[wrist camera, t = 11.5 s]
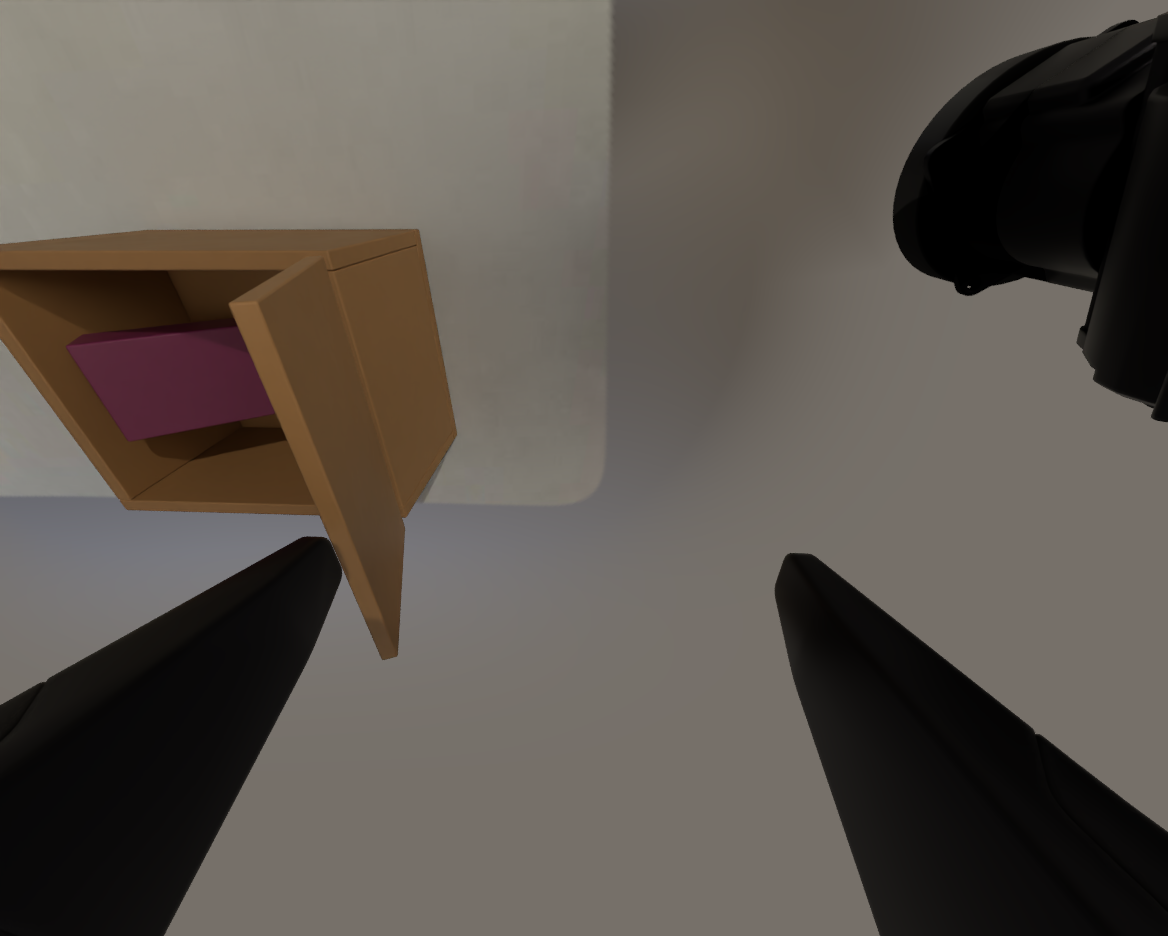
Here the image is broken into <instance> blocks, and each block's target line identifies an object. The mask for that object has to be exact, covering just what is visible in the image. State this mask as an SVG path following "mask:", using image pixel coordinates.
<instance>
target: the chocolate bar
mask: <svg viewBox="0 0 1168 936" xmlns="http://www.w3.org/2000/svg"><path fill="white" fill-rule="evenodd" d="M66 349H67V350H68V352H69V353H70V355H71V356H72V358H73V359H74V361H75V362H76V364H77V365H78V367H79V368H80V370H81V371H82V373H83V374H84V376H85V377H86V379H87V380H88V382H89V383H90V385H91V386H92V388H93V389H94V391H95V392H96V394H97V396H98V397H99V399H100V400H101V402H102V403H103V405H104V406H105V408H106V409H107V411H108V412H109V414H110V415H111V417H112V418H113V420H114V421H115V423H116V424H117V426H118V427H119V429H120V430H121V432H122V433H123V435H124V436H125V438H126V439H127V441H129V442H131V441H137V440H142V439H147V438H152V437H158V436H163V435H168V434H173V433H178V432H184V431H189V430H194V429H199V428H205V427H210V426H215V425H220V424H226V423H231V422H236V421H241V420H247V419H252V418H257V417H262V416H268V415H273V414H275V411H274V409H273V407H272V404H271V402H270V400H269V397H268V395H267V393H266V390H265V388H264V386H263V384H262V381H261V379H260V377H259V374H258V372H257V370H256V367H255V365H254V363H253V360H252V358H251V356H250V353H249V351H248V349H247V347H246V344H245V342H244V340H243V337H242V335H241V333H240V330H239V328H238V326H237V323H236V321H235V319H234V318H228V319H219V320H210V321H201V322H192V323H183V324H173V325H164V326H155V327H146V328H137V329H128V330H119V331H109V332H100V333H91V334H83V335H81V336H79V337H78V338H76V339H75V340H74V341H72V342H71V343H69V344H68V345H66Z"/></svg>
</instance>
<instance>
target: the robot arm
mask: <svg viewBox="0 0 1168 936" xmlns="http://www.w3.org/2000/svg"><path fill="white" fill-rule="evenodd" d="M941 152H942V153H943V160H942V162H941V164H940V165H939V166H936V165H935V160H936V158H937V156H938V155H939V154H940V153H941ZM922 170H923V174H924V177H925V181H926V185H927V188H928V192H929V195H930V199H931V203H932V206H933V210H934V214H935V217H936V221H937V224H938V228H939V232H940V235H941V239H942V242H943V246H944V250H945V253H946V257H947V261H948V264H949V268H950V271H951V275H952V279H953V282H954V286H955V289H956V291H957V292H958V293H960V294H962V295H965V296H973V295H975V294H978V293H979V292H981V291H983V290H985V289H987V288H989V287H990V286H992V285H994V284H996V283H998V282H1000V281H1001V280H1003V279H1005V278H1007V277H1009V276H1011V275H1012V274H1013V275H1017V276H1022V277H1026V278H1031V279H1035V280H1040V281H1045V282H1049V283H1054V284H1058V285H1063V286H1068V287H1072V288H1076V289H1081V290H1085V291H1090V292H1093V296H1092V300H1091V304H1090V308H1089V312H1088V315H1087V319H1086V323H1085V325H1084V326H1082V327H1081V328H1080V331H1079V334H1078V338H1077V344H1078V345H1079V346H1080V347H1081V348H1082V349H1083V351H1082V352H1083V354H1084V356H1085V358H1086V359H1087V361H1088V362H1089V364H1090V366H1091V367H1093V368H1094V369H1095V374H1094V377H1093V380H1094V381H1095V382H1096V383H1098V384H1100V385H1101V386H1103V387H1105V388H1107V389H1109V390H1111V391H1113V392H1115V393H1117V394H1119V395H1121V396H1123V397H1126V398H1129V399H1132V400H1135V401H1139V402H1142V403H1144V404H1145V405H1147V406H1149V407H1151V408H1154V410H1153V412H1152V415H1151V418H1153V419H1154V420H1157V421H1163V422H1168V12H1166V13H1164V14H1161V15H1159V16H1158V17H1157V18H1154V19H1151V20H1148V21H1145V22H1141V23H1139V22H1138V21H1136V20H1127V21H1124V22H1121V23H1117V24H1115V25H1113V26H1111V27H1109V28H1108V29H1106V30H1105V31H1103V32H1102V33H1100V34H1099V35H1097V36H1095V37H1092V38H1089V39H1086V40H1082V41H1079V42H1076V43H1073V44H1070V45H1068V46H1066V47H1064V48H1063V49H1061V50H1060V51H1059V52H1057V53H1056V54H1054V55H1053V56H1051V57H1050V58H1048V59H1047V60H1045V61H1044V62H1042V63H1041V64H1040V65H1038V66H1037V67H1035V68H1034V69H1032V70H1031V71H1029V72H1028V73H1026V74H1025V75H1023V76H1022V77H1021V78H1019V79H1018V80H1016V81H1015V82H1013V83H1012V84H1010V85H1009V86H1007V87H1006V88H1004V89H1003V90H1002V91H1000V92H999V93H997V94H996V95H994V96H993V97H991V98H990V99H989V100H988V102H987V103H986V105H985V106H984V108H983V113H982V114H981V115H979V116H978V117H976V118H975V119H973V120H972V121H970V122H969V123H967V124H966V125H964V126H963V127H961V128H960V129H958V130H957V131H955V132H954V133H953V134H951V135H950V136H948V137H947V138H945V139H944V140H942V141H941V142H939V143H938V144H936V145H935V146H933V147H932V148H931V149H930V150H929V151H928V152H927V153H926V155H925V156H924V158H923V162H922ZM974 278H975V281H974V283H973V285H972V286H971V287H969V288H968V284H969V282H970V281H971V280H972V279H974ZM341 577H342V568H341V565H340V563H339V561H338V558H337V556H336V554H335V551H334V549H333V547H332V544H331V542H330V541H329V540H327V538H324V537H308V536H307V537H302V538H300V539H298V540H296V541H294V542H293V543H291V544H289V545H287V546H285V547H283V548H282V549H280V550H278V551H276V552H274V553H273V554H271V555H269V556H267V557H265V558H264V559H262V560H260V561H258V562H256V563H255V564H253V565H251V566H250V567H248V568H246V569H244V570H242V571H240V572H238V573H237V574H235V575H233V576H231V577H229V578H228V579H226V580H224V581H222V582H220V583H219V584H217V585H215V586H214V587H212V588H210V589H208V590H206V591H204V592H203V593H201V594H199V595H197V596H195V597H194V598H192V599H190V600H188V601H186V602H185V603H183V604H181V605H179V606H177V607H176V608H174V609H172V610H170V611H168V612H167V613H165V614H163V615H161V616H159V617H158V618H156V619H154V620H152V621H150V622H149V623H147V624H145V625H143V626H141V627H140V628H138V629H136V630H134V631H133V632H131V633H129V634H127V635H125V636H124V637H122V638H120V639H118V640H116V641H115V642H113V643H111V644H109V645H108V646H106V647H104V648H102V649H100V650H98V651H97V652H95V653H93V654H91V655H89V656H88V657H86V658H84V659H82V660H80V661H79V662H77V663H75V664H73V665H72V666H70V667H68V668H66V669H64V670H63V671H61V672H59V673H57V674H55V675H54V676H52V677H50V678H49V679H48V680H47V681H46V682H42V683H39V684H37V685H35V686H33V687H32V688H30V689H28V690H26V691H25V692H23V693H21V694H19V695H18V696H16V697H14V698H13V699H10V700H9V701H7V702H5V703H3V704H1V705H0V936H164V934H165V933H166V930H167V929H168V927H169V925H170V923H171V921H172V919H173V917H174V915H175V913H176V911H177V910H178V908H179V906H180V904H181V902H182V900H183V898H184V896H185V894H186V892H187V891H188V889H189V887H190V885H191V883H192V881H193V879H194V877H195V875H196V873H197V871H198V870H199V868H200V866H201V864H202V862H203V860H204V858H205V856H206V854H207V852H208V851H209V849H210V847H211V845H212V843H213V841H214V839H215V837H216V835H217V833H218V831H219V829H220V828H221V826H222V823H223V822H224V820H225V818H226V816H227V814H228V812H229V810H230V808H231V807H232V805H233V803H234V801H235V799H236V797H237V795H238V793H239V791H240V789H241V788H242V785H243V784H244V782H245V780H246V778H247V776H248V774H249V772H250V770H251V768H252V766H253V765H254V763H255V761H256V759H257V757H258V755H259V753H260V751H261V749H262V747H263V746H264V744H265V742H266V740H267V738H268V736H269V734H270V732H271V730H272V728H273V726H274V725H275V723H276V721H277V719H278V716H279V715H280V713H281V711H282V709H283V707H284V705H285V704H286V702H287V700H288V698H289V696H290V694H291V692H292V690H293V688H294V686H295V684H296V683H297V681H298V679H299V677H300V675H301V673H302V671H303V669H304V667H305V665H306V663H307V661H308V659H309V657H310V655H311V653H312V650H313V648H314V646H315V643H316V641H317V638H318V636H319V634H320V631H321V628H322V626H323V624H324V621H325V619H326V616H327V614H328V611H329V609H330V606H331V604H332V601H333V599H334V596H335V594H336V591H337V589H338V586H339V584H340V581H341ZM775 599H776V603H777V608H778V612H779V617H780V621H781V626H782V630H783V635H784V640H785V644H786V648H787V653H788V658H789V662H790V667H791V671H792V675H793V679H794V682H795V685H796V689H797V692H798V695H799V698H800V701H801V704H802V707H803V710H804V712H805V715H806V719H807V721H808V724H809V727H810V730H811V733H812V736H813V739H814V742H815V745H816V748H817V751H818V754H819V757H820V760H821V763H822V766H823V769H824V772H825V775H826V778H827V780H828V784H829V786H830V789H831V792H832V795H833V798H834V801H835V804H836V807H837V810H838V813H839V816H840V819H841V822H842V825H843V827H844V831H845V833H846V837H847V840H848V843H849V846H850V848H851V852H852V854H853V857H854V860H855V863H856V866H857V869H858V872H859V875H860V878H861V881H862V884H863V887H864V890H865V893H866V896H867V899H868V902H869V905H870V908H871V910H872V914H873V917H874V919H875V922H876V925H877V928H878V931H879V934H880V936H1168V832H1167V831H1166V830H1165V829H1163V828H1162V827H1160V826H1159V825H1158V824H1156V823H1155V822H1154V821H1152V820H1151V819H1150V818H1148V817H1147V816H1145V815H1144V814H1143V813H1141V812H1140V811H1139V810H1137V809H1136V808H1134V807H1133V806H1132V805H1130V804H1129V803H1128V802H1127V801H1125V800H1124V799H1123V798H1121V797H1120V796H1119V795H1118V794H1116V793H1115V792H1114V791H1112V790H1111V789H1110V788H1108V787H1107V786H1106V785H1105V784H1103V783H1102V782H1101V781H1099V780H1098V779H1097V778H1095V777H1094V776H1093V775H1092V774H1090V773H1089V772H1088V771H1086V770H1085V769H1084V768H1083V767H1081V766H1080V765H1079V764H1077V763H1076V762H1075V761H1073V760H1072V759H1071V758H1070V757H1068V756H1067V755H1066V754H1065V753H1063V752H1062V751H1061V750H1060V749H1058V748H1057V747H1056V746H1054V745H1053V744H1052V743H1051V742H1049V741H1048V740H1047V739H1046V738H1044V737H1043V736H1042V735H1040V734H1035V732H1034V730H1033V728H1031V727H1030V726H1029V725H1028V724H1026V723H1025V722H1023V720H1021V719H1020V718H1019V717H1018V716H1016V715H1015V714H1014V713H1012V712H1011V711H1010V710H1009V709H1007V708H1006V707H1005V706H1004V705H1002V704H1001V703H1000V702H999V701H997V700H996V699H995V698H993V697H992V696H991V695H990V694H988V693H987V692H986V691H985V690H983V689H982V688H981V687H979V686H978V685H977V684H976V683H975V682H973V681H972V680H971V679H969V678H968V677H967V676H966V675H964V674H963V673H962V672H961V671H959V670H958V669H957V668H956V667H954V666H953V665H952V664H950V663H949V662H948V661H947V660H946V659H944V658H943V657H942V656H940V655H939V654H938V653H937V652H935V651H934V650H933V649H932V648H930V647H929V646H928V645H927V644H925V643H924V642H923V641H921V640H920V639H919V638H918V637H916V636H915V635H914V634H913V633H911V632H910V631H909V630H907V629H906V628H905V627H904V626H903V625H901V624H900V623H899V622H897V621H896V620H895V619H894V618H892V617H891V616H890V615H889V614H887V613H886V612H885V611H883V610H882V609H881V608H880V607H879V606H877V605H876V604H875V603H873V602H872V601H871V600H869V599H868V598H867V597H866V596H865V595H863V594H862V593H861V592H860V591H858V590H857V589H856V588H854V587H853V586H852V585H851V584H849V583H848V582H847V581H846V580H844V579H843V578H842V577H841V576H839V575H838V574H837V573H836V572H834V571H833V570H832V569H830V568H829V567H828V566H827V565H825V564H824V563H823V562H822V561H820V560H819V559H818V558H817V557H815V556H813V555H812V554H804V553H790V554H787V555H786V556H785V558H784V561H783V564H782V566H781V569H780V572H779V575H778V578H777V581H776V584H775Z"/></svg>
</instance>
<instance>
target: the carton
mask: <svg viewBox="0 0 1168 936" xmlns="http://www.w3.org/2000/svg"><path fill="white" fill-rule="evenodd" d="M308 256H322V257H323V258H324V261H325V265H326V268H327V271H328V275H329V278H330V281H331V284H332V288H333V291H334V294H335V298H336V301H337V304H338V308H339V311H340V314H341V318H342V321H343V324H344V328H345V331H346V334H347V338H348V341H349V344H350V347H351V351H352V354H353V357H354V361H355V364H356V367H357V371H358V374H359V377H360V381H361V384H362V387H363V391H364V394H365V397H366V401H367V404H368V407H369V410H370V414H371V417H372V420H373V424H374V427H375V430H376V434H377V437H378V440H379V444H380V447H381V450H382V454H383V457H384V460H385V463H386V467H387V470H388V473H389V477H390V480H391V483H392V487H393V490H394V493H395V497H396V500H397V503H398V507H399V510H400V513H401V517H402V518H405V517H407V515H408V514H409V512H410V510H411V509H412V507H413V506H414V504H415V502H416V501H417V499H418V497H419V496H420V494H421V493H422V491H423V489H424V488H425V486H426V484H427V483H428V481H429V480H430V478H431V476H432V475H433V473H434V471H435V470H436V468H437V466H438V465H439V463H440V462H441V460H442V458H443V457H444V455H445V453H446V452H447V450H448V449H449V447H450V445H451V444H452V442H453V440H454V439H455V437H456V436H457V431H456V426H455V421H454V415H453V410H452V405H451V399H450V394H449V389H448V383H447V378H446V373H445V367H444V362H443V357H442V351H441V346H440V341H439V335H438V330H437V325H436V319H435V314H434V309H433V303H432V298H431V293H430V287H429V282H428V277H427V271H426V266H425V261H424V255H423V250H422V245H421V239H420V234H419V230H417V229H363V230H143V231H133V232H122V233H112V234H102V235H91V236H81V237H71V238H60V239H50V240H40V241H29V242H19V243H9V244H0V339H1V340H2V341H3V343H4V344H5V346H6V347H7V348H8V350H9V351H10V352H11V354H12V355H13V356H14V358H15V359H16V360H17V362H18V363H19V365H20V366H21V367H22V369H23V370H24V371H25V373H26V374H27V375H28V377H29V378H30V379H31V381H32V382H33V384H34V385H35V386H36V388H37V389H38V390H39V392H40V393H41V394H42V396H43V397H44V398H45V400H46V401H47V403H48V404H49V405H50V407H51V408H52V409H53V411H54V412H55V413H56V415H57V416H58V417H59V419H60V420H61V422H62V423H63V424H64V426H65V427H66V428H67V430H68V431H69V432H70V434H71V435H72V436H73V438H74V439H75V441H76V442H77V443H78V445H79V446H80V447H81V449H82V450H83V451H84V453H85V454H86V455H87V457H88V458H89V460H90V461H91V462H92V464H93V465H94V466H95V468H96V469H97V470H98V472H99V473H100V474H101V476H102V477H103V479H104V480H105V481H106V483H107V484H108V485H109V487H110V488H111V489H112V491H113V492H114V493H115V495H116V496H117V498H118V499H120V502H121V503H122V504H123V506H124V507H125V508H126V509H127V510H148V511H183V512H219V513H255V514H257V513H258V514H289V515H290V514H291V515H319V513H318V511H317V508H316V506H315V504H314V501H313V499H312V497H311V494H310V492H309V490H308V487H307V485H306V483H305V481H304V478H303V476H302V474H301V471H300V469H299V467H298V464H297V462H296V460H295V457H294V455H293V453H292V451H291V448H290V446H289V444H288V441H287V439H286V437H285V434H284V432H283V430H282V427H281V425H280V423H279V420H278V418H277V416H276V414H273V415H268V416H262V417H257V418H252V419H247V420H241V421H236V422H231V423H226V424H220V425H215V426H210V427H205V428H199V429H194V430H189V431H184V432H178V433H173V434H168V435H163V436H158V437H152V438H147V439H142V440H137V441H131V442H129V441H127V439H126V438H125V436H124V435H123V433H122V432H121V430H120V429H119V427H118V426H117V424H116V423H115V421H114V420H113V418H112V417H111V415H110V414H109V412H108V411H107V409H106V408H105V406H104V405H103V403H102V402H101V400H100V399H99V397H98V396H97V394H96V392H95V391H94V389H93V388H92V386H91V385H90V383H89V382H88V380H87V379H86V377H85V376H84V374H83V373H82V371H81V370H80V368H79V367H78V365H77V364H76V362H75V361H74V359H73V358H72V356H71V355H70V353H69V352H68V350H67V349H66V345H68V344H69V343H71V342H72V341H74V340H75V339H76V338H78V337H79V336H81V335H83V334H91V333H100V332H109V331H119V330H128V329H137V328H146V327H155V326H164V325H173V324H183V323H192V322H201V321H210V320H219V319H228V318H234V317H233V314H232V312H231V310H230V307H229V303H230V302H231V301H233V300H235V299H237V298H238V297H240V296H242V295H243V294H245V293H247V292H248V291H250V290H252V289H253V288H255V287H257V286H258V285H260V284H262V283H263V282H265V281H267V280H268V279H270V278H272V277H273V276H275V275H277V274H279V273H280V272H282V271H284V270H285V269H287V268H289V267H290V266H292V265H294V264H295V263H297V262H299V261H300V260H302V259H304V258H305V257H308Z"/></svg>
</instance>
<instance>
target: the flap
mask: <svg viewBox="0 0 1168 936" xmlns="http://www.w3.org/2000/svg"><path fill="white" fill-rule="evenodd" d="M229 307H230V310H231V312H232V314H233V317H234V319H235V321H236V323H237V326H238V328H239V330H240V333H241V335H242V337H243V340H244V342H245V344H246V347H247V349H248V351H249V353H250V356H251V358H252V360H253V363H254V365H255V367H256V370H257V372H258V374H259V377H260V379H261V381H262V384H263V386H264V388H265V390H266V393H267V395H268V397H269V400H270V402H271V404H272V407H273V409H274V411H275V414H276V416H277V418H278V420H279V423H280V425H281V427H282V430H283V432H284V434H285V437H286V439H287V441H288V444H289V446H290V448H291V451H292V453H293V455H294V457H295V460H296V462H297V464H298V467H299V469H300V471H301V474H302V476H303V478H304V481H305V483H306V485H307V487H308V490H309V492H310V494H311V497H312V499H313V501H314V504H315V506H316V508H317V511H318V513H319V515H320V518H321V520H322V522H323V524H324V527H325V529H326V531H327V534H328V536H329V538H330V541H331V543H332V545H333V548H334V550H335V552H336V554H337V557H338V559H339V561H340V563H341V566H342V568H343V571H344V573H345V575H346V577H347V580H348V582H349V585H350V587H351V589H352V591H353V594H354V596H355V598H356V601H357V603H358V605H359V607H360V610H361V612H362V614H363V617H364V619H365V621H366V624H367V626H368V628H369V630H370V633H371V635H372V638H373V640H374V642H375V644H376V647H377V649H378V652H379V654H380V656H381V658H382V660H385V659H389V658H393V657H397V655H398V641H399V624H400V607H401V589H402V572H403V553H404V535H405V527H404V523H403V520H402V517H401V513H400V510H399V507H398V503H397V500H396V497H395V493H394V490H393V487H392V483H391V480H390V477H389V473H388V470H387V467H386V463H385V460H384V457H383V454H382V450H381V447H380V444H379V440H378V437H377V434H376V430H375V427H374V424H373V420H372V417H371V414H370V410H369V407H368V404H367V401H366V397H365V394H364V391H363V387H362V384H361V381H360V377H359V374H358V371H357V367H356V364H355V361H354V357H353V354H352V351H351V347H350V344H349V341H348V338H347V334H346V331H345V328H344V324H343V321H342V318H341V314H340V311H339V308H338V304H337V301H336V298H335V294H334V291H333V288H332V284H331V281H330V278H329V275H328V271H327V268H326V265H325V261H324V258H323V257H322V256H308V257H305V258H304V259H302V260H300V261H299V262H297V263H295V264H294V265H292V266H290V267H289V268H287V269H285V270H284V271H282V272H280V273H279V274H277V275H275V276H273V277H272V278H270V279H268V280H267V281H265V282H263V283H262V284H260V285H258V286H257V287H255V288H253V289H252V290H250V291H248V292H247V293H245V294H243V295H242V296H240V297H238V298H237V299H235V300H233V301H231V302H230V303H229Z"/></svg>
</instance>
